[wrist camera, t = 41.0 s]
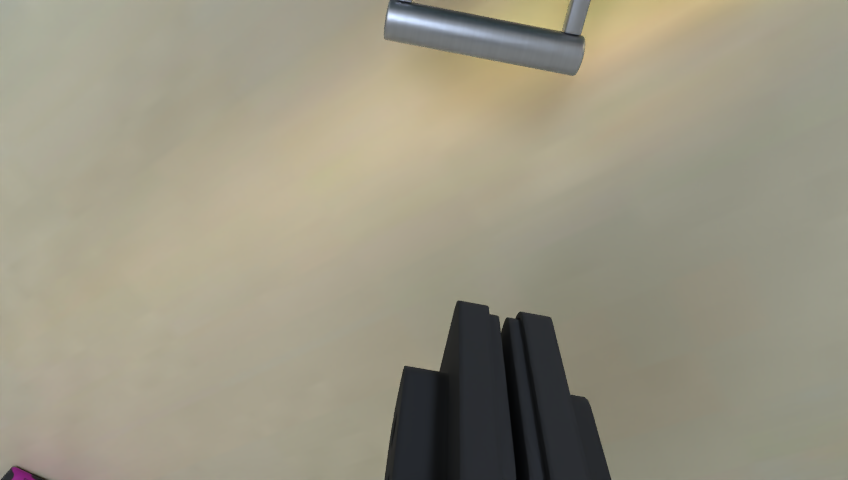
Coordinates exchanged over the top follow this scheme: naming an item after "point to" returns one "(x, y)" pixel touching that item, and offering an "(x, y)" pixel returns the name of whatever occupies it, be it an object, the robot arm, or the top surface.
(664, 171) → the top surface
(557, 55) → the drawer
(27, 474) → the candy bar box
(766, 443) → the top surface
